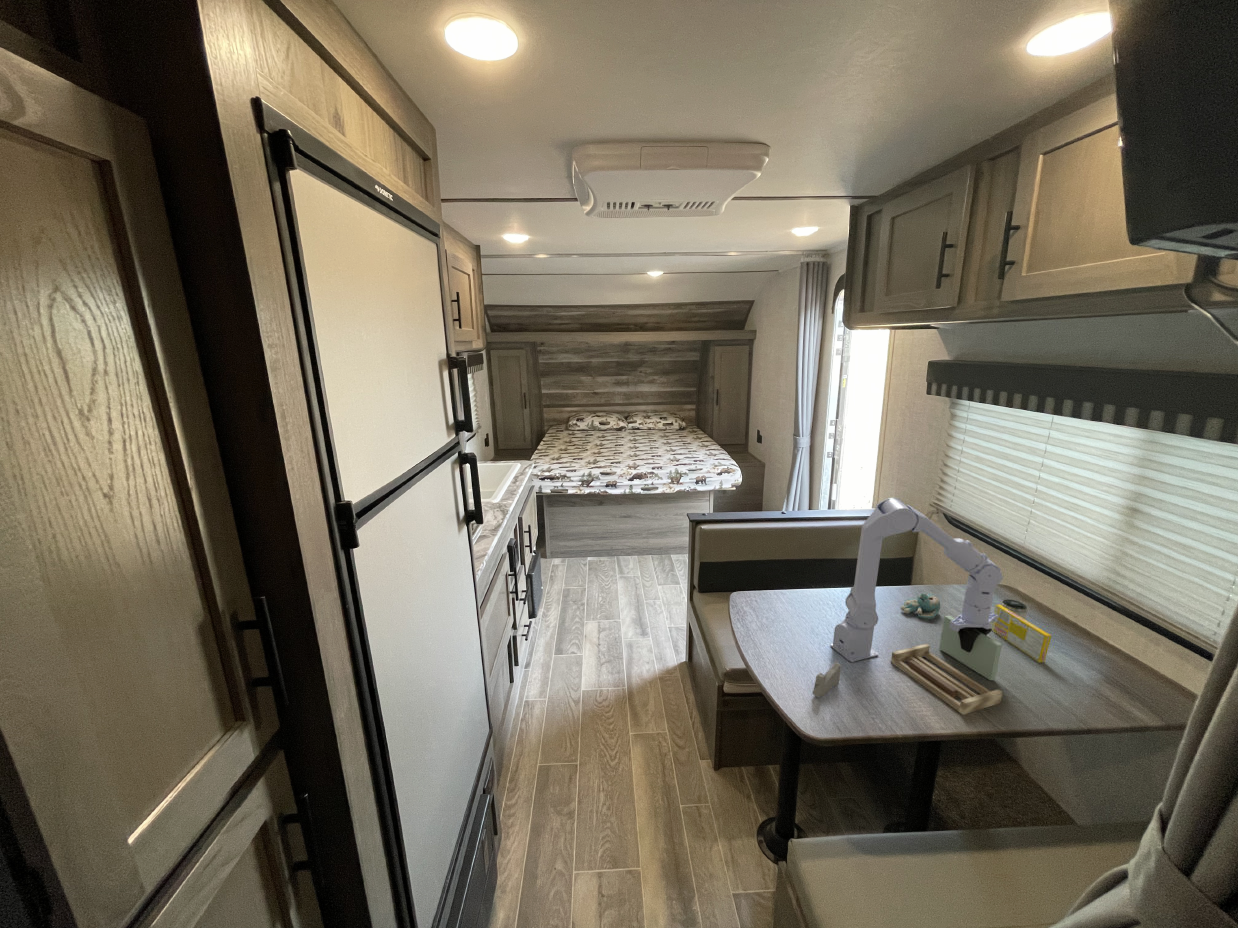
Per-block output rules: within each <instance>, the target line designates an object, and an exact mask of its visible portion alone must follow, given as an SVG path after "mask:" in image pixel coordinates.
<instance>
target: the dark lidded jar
mask: <svg viewBox="0 0 1238 928" xmlns="http://www.w3.org/2000/svg"><path fill="white" fill-rule="evenodd" d="M1000 605H1002V606H1003V607H1005V608H1007V609H1008V610H1010V611H1012V612H1013V613H1015V614H1017V615H1018V616H1020V617H1022V618H1023V619H1025V620H1027V614H1028V611H1029V609H1028V607H1027V605H1025V604H1024V603H1023V602H1021V601H1018V600H1015V599H1008V598H1007V599H1003V600H1002V601H1000Z"/></svg>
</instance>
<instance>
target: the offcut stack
mask: <svg viewBox="0 0 1238 928" xmlns="http://www.w3.org/2000/svg"><path fill="white" fill-rule="evenodd" d="M908 666H909V667H910V668H912V669H913V670H914V671H916V672H917V673H919V674H920V675H921V676H923V677H924V678H926V679H927V680H929V681H930V682H931V683H933V684H934V685H936V686H937V687H938V688H940V689H941V690H943V691H944V692H945V693H947V694H948V695H950V696H951V697H952V698H954V699H955V698H957V697H958V696H957V691H958V690H957V689H955V688H954V687H952V686H951V685H949V684H948V683H947V682H945V681H944V680H942V679H941V678H939V677H938V676H936V675H935V674H933V673H932V672H930V671H929V670H928V669H926V668H925V667H923V666H922V665H919V664H918V663H916V662H915V661H914V662H913V661H912V660H910V661H909V662H908Z"/></svg>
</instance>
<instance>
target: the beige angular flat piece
mask: <svg viewBox="0 0 1238 928" xmlns="http://www.w3.org/2000/svg"><path fill="white" fill-rule="evenodd" d="M841 671H842V664H840V663H838V662H837V661H836V662H834V663H833V665H832V666H831V667H830V669H828V670H827V671H826V673H825V674H823V673H821V672H819V673H818V674H817V675H816V676H815V682H814V688H813V690H812V692H811V694H812V695H813V696H815V697H816V698H822V697H823V696H825V695H826V694H827V693H828V692H829V691H830V690H831V689H832V688H833V687H834V686H839V685H840V679H841Z"/></svg>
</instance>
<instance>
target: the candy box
mask: <svg viewBox="0 0 1238 928" xmlns="http://www.w3.org/2000/svg"><path fill="white" fill-rule="evenodd" d="M993 613H995V614H997V615H998V620H997V622H991V623H990V624H991V625H992V630H991V632H992V631H993V632H994V633H995V634H996V633H997V634H996V635H998V636H1000V637H1001V638H1002V639H1004V640H1006V642H1008V643H1010V644H1011V645H1013V646H1014V647H1016V648H1017V649H1019V650H1020V651H1021V652H1023V653H1024V654H1026V655H1028V656H1029V657H1030V658H1031V659H1033V660H1034V661H1035V662H1037V663H1045V662H1046V658H1047V654H1048V650H1049V647H1050V644H1051V639H1052V635H1051V634H1049V633H1048V632H1047V631H1045V630H1043V629H1041V628H1040V627H1038V626H1037V625H1035V624H1033V623H1031V622H1030V621H1028V620H1027V619H1026V620H1025V619H1023V618H1022V617H1020V616H1018V615H1017V614H1015V613H1013V612H1012V611H1010V610H1008V609H1007V608H1005V607H1003V606H1002V605H1001V604H995V605H994V610H993Z"/></svg>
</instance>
